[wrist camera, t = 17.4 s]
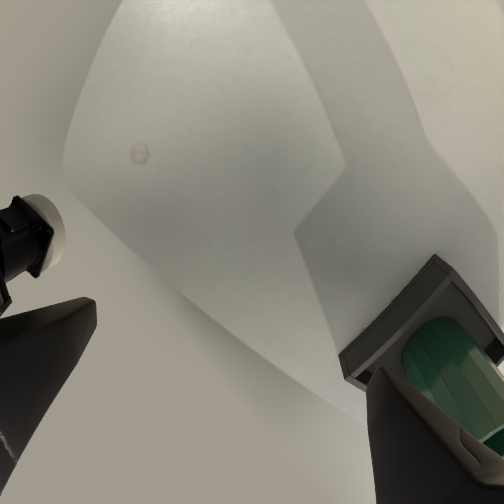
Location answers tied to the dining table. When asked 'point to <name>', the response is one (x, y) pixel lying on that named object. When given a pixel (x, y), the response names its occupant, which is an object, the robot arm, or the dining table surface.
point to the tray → (420, 323)
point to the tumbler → (457, 378)
